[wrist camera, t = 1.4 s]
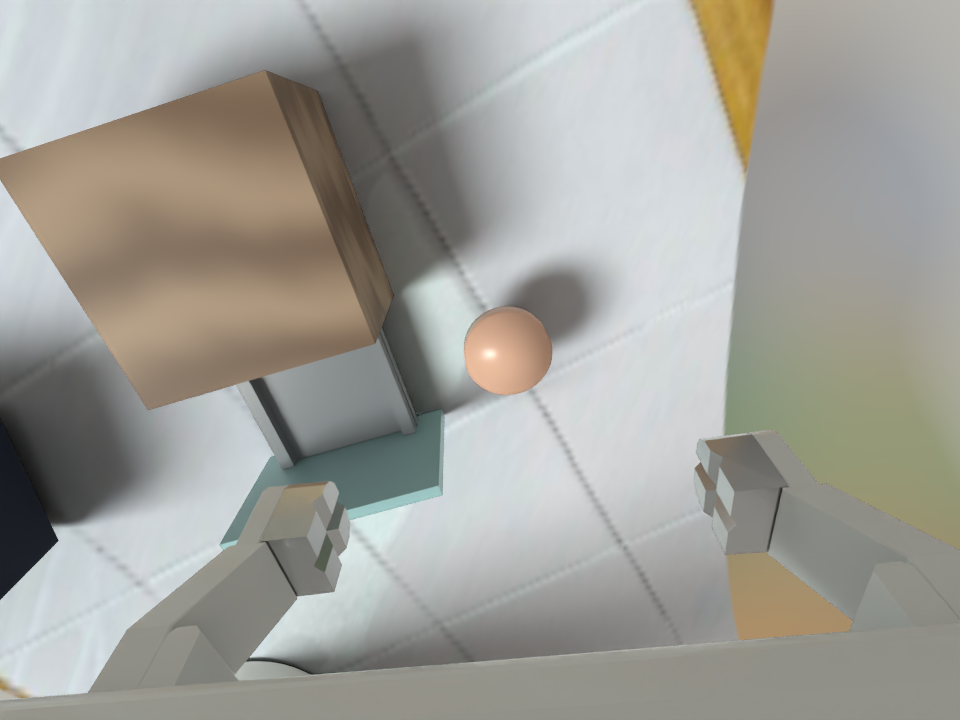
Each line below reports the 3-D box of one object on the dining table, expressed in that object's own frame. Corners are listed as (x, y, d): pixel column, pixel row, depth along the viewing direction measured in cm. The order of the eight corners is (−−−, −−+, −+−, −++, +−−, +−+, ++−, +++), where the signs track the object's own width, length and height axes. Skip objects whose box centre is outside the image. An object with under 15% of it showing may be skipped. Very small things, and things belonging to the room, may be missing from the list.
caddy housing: (393, 295, 37) (375, 343, 28) (219, 347, 38) (148, 410, 29) (317, 91, 32) (265, 70, 23) (116, 157, 33) (-12, 162, 24)
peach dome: (556, 371, 37) (560, 381, 35) (477, 393, 37) (478, 404, 35) (537, 295, 34) (541, 302, 33) (453, 320, 35) (453, 328, 33)
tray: (444, 417, 41) (442, 495, 32) (274, 464, 42) (225, 553, 33) (387, 262, 36) (366, 303, 27) (195, 320, 37) (110, 379, 28)
